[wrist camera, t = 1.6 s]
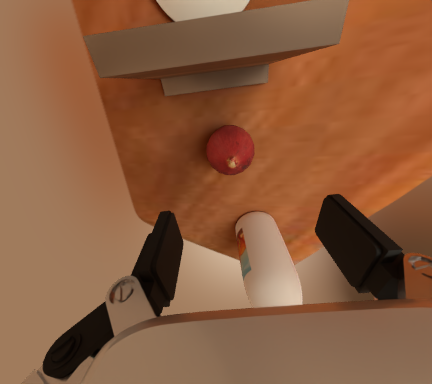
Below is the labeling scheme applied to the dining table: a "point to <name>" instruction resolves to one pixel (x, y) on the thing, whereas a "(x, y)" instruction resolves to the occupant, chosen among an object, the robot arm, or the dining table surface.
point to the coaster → (200, 8)
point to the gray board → (218, 46)
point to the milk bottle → (266, 263)
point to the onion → (230, 150)
